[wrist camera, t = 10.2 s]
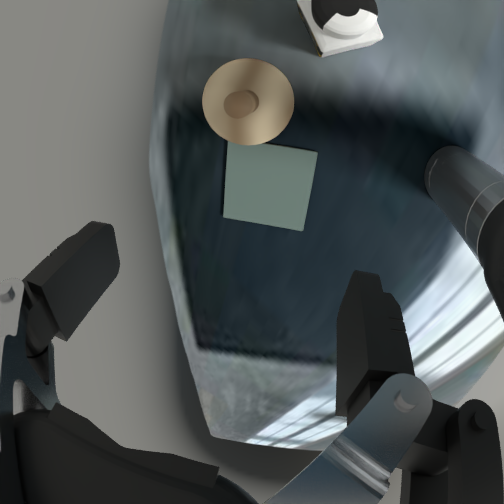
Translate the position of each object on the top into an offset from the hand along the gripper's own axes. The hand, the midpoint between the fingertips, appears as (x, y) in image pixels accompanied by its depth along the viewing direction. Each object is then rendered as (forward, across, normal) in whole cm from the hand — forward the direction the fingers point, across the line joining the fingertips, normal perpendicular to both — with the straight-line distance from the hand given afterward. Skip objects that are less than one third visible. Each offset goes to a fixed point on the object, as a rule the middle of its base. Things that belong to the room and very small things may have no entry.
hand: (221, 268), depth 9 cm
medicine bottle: (+32, -4, -14) cm, 35 cm away
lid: (+28, +5, -2) cm, 28 cm away
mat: (+32, +2, +10) cm, 34 cm away
